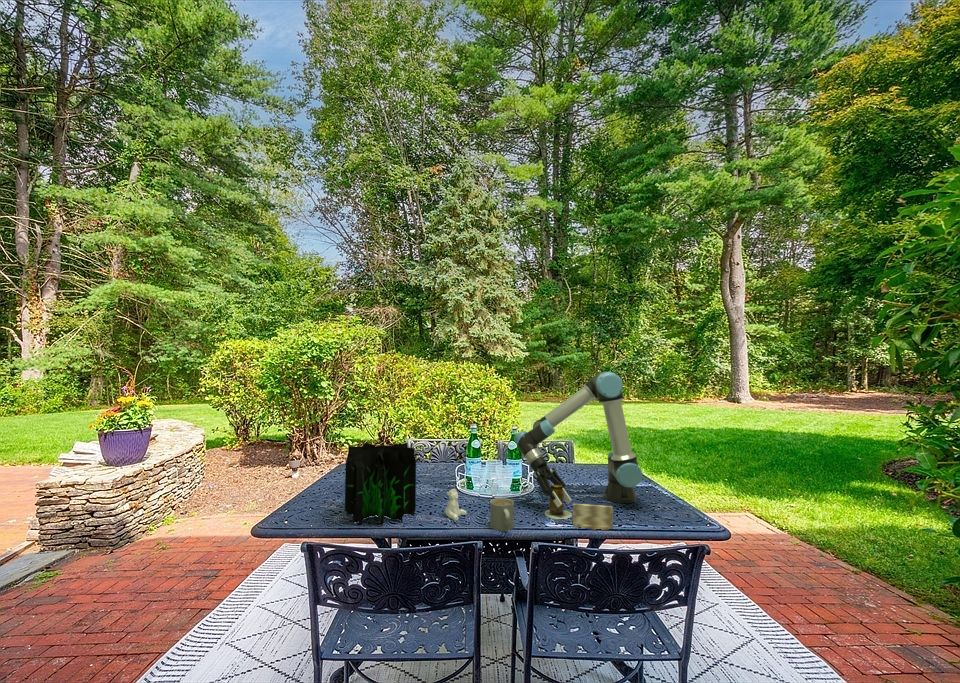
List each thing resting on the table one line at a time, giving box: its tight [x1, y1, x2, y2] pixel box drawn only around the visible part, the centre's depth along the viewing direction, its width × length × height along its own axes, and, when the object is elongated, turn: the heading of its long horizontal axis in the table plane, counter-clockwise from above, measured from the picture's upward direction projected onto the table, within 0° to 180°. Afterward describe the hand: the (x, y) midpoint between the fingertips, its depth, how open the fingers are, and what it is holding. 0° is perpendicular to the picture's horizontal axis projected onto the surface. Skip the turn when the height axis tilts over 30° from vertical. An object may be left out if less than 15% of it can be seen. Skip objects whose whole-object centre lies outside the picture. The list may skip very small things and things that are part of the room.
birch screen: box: [572, 503, 614, 531], centre depth 181 cm, size 16×4×9 cm, turn 78°
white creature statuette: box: [444, 488, 467, 522], centre depth 193 cm, size 10×9×12 cm
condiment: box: [545, 484, 571, 517], centre depth 195 cm, size 7×8×12 cm
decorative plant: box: [344, 441, 417, 525], centre depth 196 cm, size 29×30×30 cm
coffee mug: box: [489, 497, 515, 532], centre depth 180 cm, size 13×10×10 cm
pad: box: [544, 509, 573, 520], centre depth 195 cm, size 12×12×1 cm
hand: (564, 503), depth 193 cm, fingers open, 6 cm apart
